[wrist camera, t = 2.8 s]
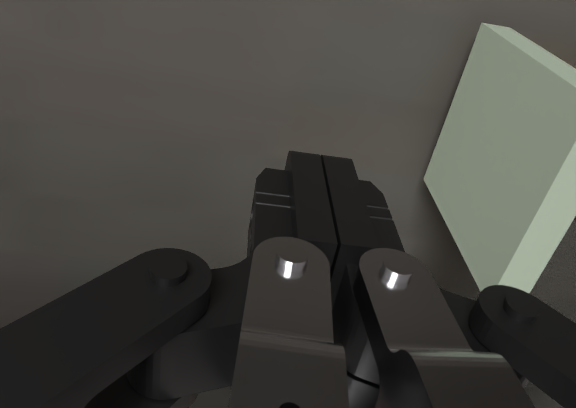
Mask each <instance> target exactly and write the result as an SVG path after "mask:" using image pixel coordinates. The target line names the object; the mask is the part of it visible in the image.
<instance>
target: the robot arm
mask: <svg viewBox="0 0 576 408" xmlns="http://www.w3.org/2000/svg"><path fill="white" fill-rule="evenodd" d="M529 381H530V382H532V383H533V384H534V385H536V386H537V387H538V388H539V389H541V390H542V391H543V392H545V393H546V394H547V395H549V396H550V397H551V398H552V399H554V400H555V401H556V402H558V403H559V404H560V405H562V406H563V407H564V408H576V323H574V322H573V321H571V320H569V319H568V318H566V317H565V316H563V315H562V314H560V313H559V312H557V311H556V310H554V309H553V308H551V307H550V306H548V305H547V304H545V303H544V302H542V301H541V300H539V299H537V298H536V297H534V296H533V295H531V294H529V293H527V292H525V291H523V290H520V289H517V288H514V287H511V286H505V285H492V286H488V287H486V288H484V289H483V290H482V291H481V293H480V295H479V297H478V299H477V301H474V300H471V299H468V298H465V297H462V296H459V295H456V294H453V293H450V292H447V291H445V290H442V289H440V288H439V287H438V285H437V283H436V281H435V280H434V278H433V276H432V274H431V272H430V271H429V269H428V268H427V267H426V266H425V265H424V264H423V263H422V262H421V261H419V260H418V259H416V258H415V257H413V256H411V255H409V254H407V253H405V251H404V248H403V245H402V243H401V240H400V237H399V235H398V232H397V230H396V227H395V224H394V222H393V221H392V216H391V214H390V211H389V210H388V206H387V203H386V200H385V198H384V195H383V193H382V192H381V191H379V190H378V189H377V188H376V187H375V186H374V185H373V184H372V183H371V182H370V181H362V180H358V177H357V174H356V170H355V167H354V164H353V161H352V159H348V158H341V157H333V156H326V155H321V156H320V155H318V154H310V153H303V152H295V151H289V153H288V156H287V161H286V166H285V170H277V169H270V168H265V169H264V170H263V172H262V173H261V174H260V175H259V176H258V177H257V178H256V184H255V191H254V198H253V204H252V211H251V217H250V224H249V230H248V248H247V258H246V259H244V260H243V261H241V262H240V263H237V264H235V265H232V266H229V267H225V268H219V269H211V270H210V268H209V266H208V264H207V263H206V262H205V261H204V260H203V259H201V258H200V257H199V256H197V255H195V254H193V253H191V252H188V251H185V250H181V249H174V248H163V249H155V250H151V251H148V252H145V253H142V254H140V255H138V256H136V257H134V258H133V259H131V260H129V261H127V262H125V263H123V264H121V265H119V266H118V267H116V268H114V269H112V270H110V271H108V272H106V273H104V274H103V275H101V276H99V277H97V278H95V279H93V280H91V281H89V282H88V283H86V284H84V285H82V286H80V287H78V288H76V289H74V290H72V291H71V292H69V293H67V294H65V295H63V296H61V297H59V298H57V299H56V300H54V301H52V302H50V303H48V304H46V305H44V306H42V307H41V308H39V309H37V310H35V311H33V312H31V313H29V314H27V315H25V316H24V317H22V318H20V319H18V320H16V321H14V322H12V323H10V324H9V325H7V326H5V327H3V328H1V329H0V408H188V407H189V406H190V405H191V404H192V403H193V402H194V400H195V399H196V397H197V395H198V393H201V392H205V391H210V390H214V389H219V388H223V387H227V386H231V392H230V398H229V405H228V408H535V406H534V405H533V403H532V401H531V400H530V398H529V396H528V395H527V393H526V391H525V390H524V388H525V386H526V385H527V383H528V382H529Z"/></svg>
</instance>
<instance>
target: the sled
mask: <svg viewBox="0 0 576 408" xmlns="http://www.w3.org/2000/svg"><path fill="white" fill-rule="evenodd" d="M424 181H425V183H426V185H427V187H428V189H429V191H430V193H431V195H432V197H433V199H434V201H435V203H436V205H437V207H438V209H439V211H440V213H441V215H442V217H443V219H444V221H445V223H446V225H447V227H448V228H449V230H450V232H451V234H452V236H453V238H454V240H455V242H456V244H457V246H458V248H459V250H460V252H461V254H462V256H463V258H464V260H465V262H466V264H467V266H468V268H469V270H470V272H471V274H472V276H473V278H474V280H475V282H476V284H477V286H478V288H479V289H480V291H482V290H483V289H484V288H486V287H488V286H492V285H505V286H511V287H514V288H517V289H520V290H523V291H525V292H527V293H530V292H531V290H532V288H533V287H534V285H535V283H536V282H537V280H538V278H539V277H540V275H541V273H542V271H543V270H544V268H545V266H546V265H547V263H548V261H549V260H550V258H551V256H552V255H553V253H554V251H555V250H556V248H557V246H558V245H559V243H560V241H561V240H562V238H563V236H564V235H565V233H566V231H567V230H568V228H569V226H570V225H571V223H572V221H573V219H574V218H575V216H576V69H575V68H574V67H572V66H571V65H569V64H567V63H566V62H564V61H563V60H561V59H559V58H558V57H556V56H555V55H553V54H551V53H550V52H548V51H547V50H545V49H543V48H542V47H540V46H539V45H537V44H535V43H534V42H532V41H531V40H529V39H527V38H526V37H524V36H523V35H521V34H519V33H518V32H516V31H515V30H513V29H511V28H509V27H503V26H498V25H492V24H486V23H481V26H480V29H479V31H478V34H477V37H476V39H475V42H474V45H473V47H472V50H471V53H470V55H469V58H468V61H467V63H466V66H465V69H464V72H463V74H462V77H461V80H460V82H459V85H458V88H457V90H456V93H455V96H454V98H453V101H452V104H451V107H450V109H449V112H448V115H447V117H446V120H445V123H444V125H443V128H442V131H441V133H440V136H439V139H438V142H437V144H436V147H435V150H434V152H433V155H432V158H431V160H430V163H429V166H428V168H427V171H426V174H425V177H424Z"/></svg>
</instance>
